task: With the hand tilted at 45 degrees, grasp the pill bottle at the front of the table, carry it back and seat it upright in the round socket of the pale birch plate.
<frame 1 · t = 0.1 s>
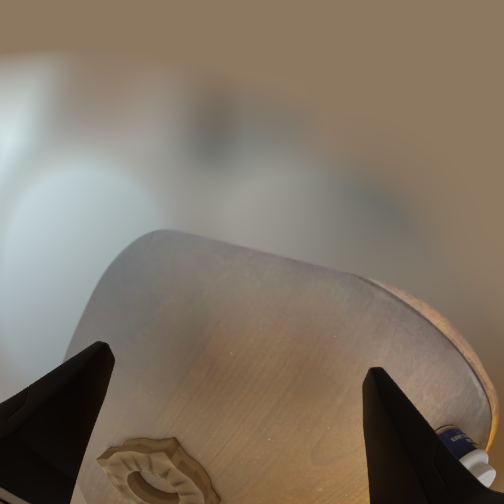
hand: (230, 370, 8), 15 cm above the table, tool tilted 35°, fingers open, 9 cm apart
pill bottle: (438, 443, 20), on the table
socket plate: (162, 476, 23), on the table
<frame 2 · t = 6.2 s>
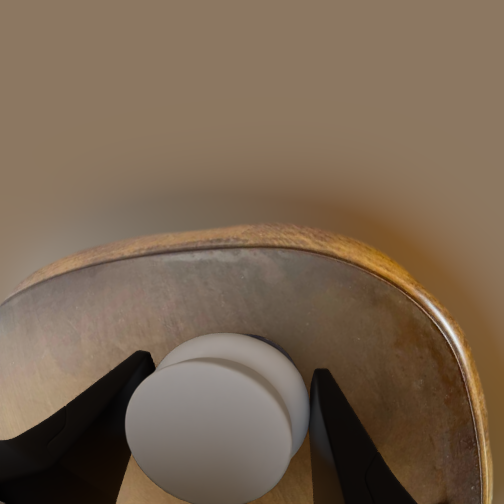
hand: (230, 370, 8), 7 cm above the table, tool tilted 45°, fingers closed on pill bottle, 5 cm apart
pill bottle: (247, 380, 14), on the table, touching gripper
when the fingers open (7 cm above the table, at t = 16.5 s): pill bottle stays where it is, resting in socket plate.
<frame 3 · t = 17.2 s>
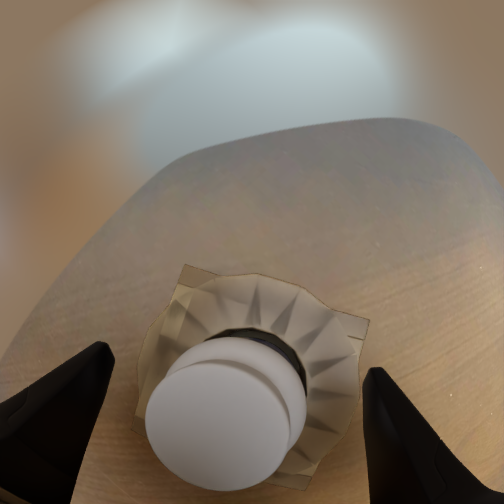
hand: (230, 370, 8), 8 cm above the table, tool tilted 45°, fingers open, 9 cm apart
pill bottle: (249, 380, 16), resting in socket plate
socket plate: (249, 379, 15), on the table
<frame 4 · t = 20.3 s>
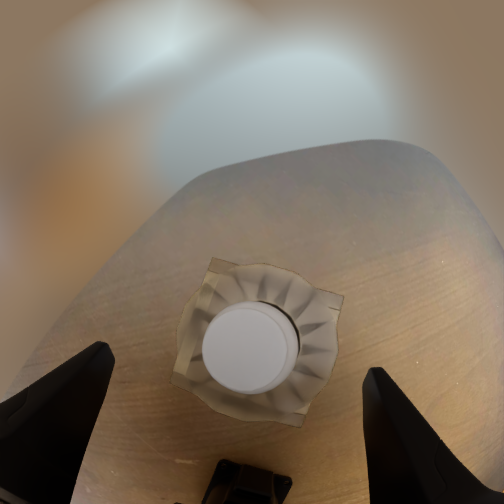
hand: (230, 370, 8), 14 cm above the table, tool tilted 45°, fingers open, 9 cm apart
pill bottle: (258, 344, 22), resting in socket plate
socket plate: (258, 343, 22), on the table
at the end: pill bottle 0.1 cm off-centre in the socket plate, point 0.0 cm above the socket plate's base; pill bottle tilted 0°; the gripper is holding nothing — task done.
